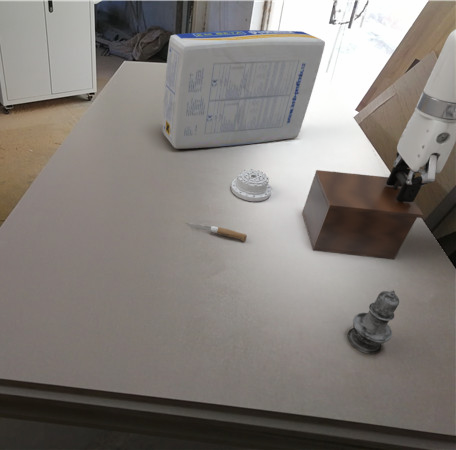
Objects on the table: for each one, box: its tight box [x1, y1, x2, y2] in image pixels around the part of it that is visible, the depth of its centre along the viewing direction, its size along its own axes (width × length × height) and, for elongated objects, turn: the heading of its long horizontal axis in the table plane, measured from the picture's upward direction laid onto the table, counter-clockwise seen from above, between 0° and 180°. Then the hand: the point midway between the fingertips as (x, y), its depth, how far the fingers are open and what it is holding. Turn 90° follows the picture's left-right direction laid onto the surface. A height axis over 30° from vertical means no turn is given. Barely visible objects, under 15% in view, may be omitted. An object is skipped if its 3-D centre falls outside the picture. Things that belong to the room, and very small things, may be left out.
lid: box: [315, 169, 424, 219], centre depth 82 cm, size 17×14×5 cm
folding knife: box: [185, 222, 248, 243], centre depth 87 cm, size 14×2×2 cm, turn 71°
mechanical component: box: [230, 168, 273, 202], centre depth 101 cm, size 10×4×10 cm
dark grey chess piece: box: [347, 290, 400, 355], centre depth 64 cm, size 6×6×12 cm
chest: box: [301, 172, 417, 260], centre depth 86 cm, size 17×14×11 cm
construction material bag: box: [162, 29, 326, 150], centre depth 117 cm, size 43×12×30 cm, turn 108°
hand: (399, 192), depth 82 cm, fingers closed on lid, 5 cm apart
